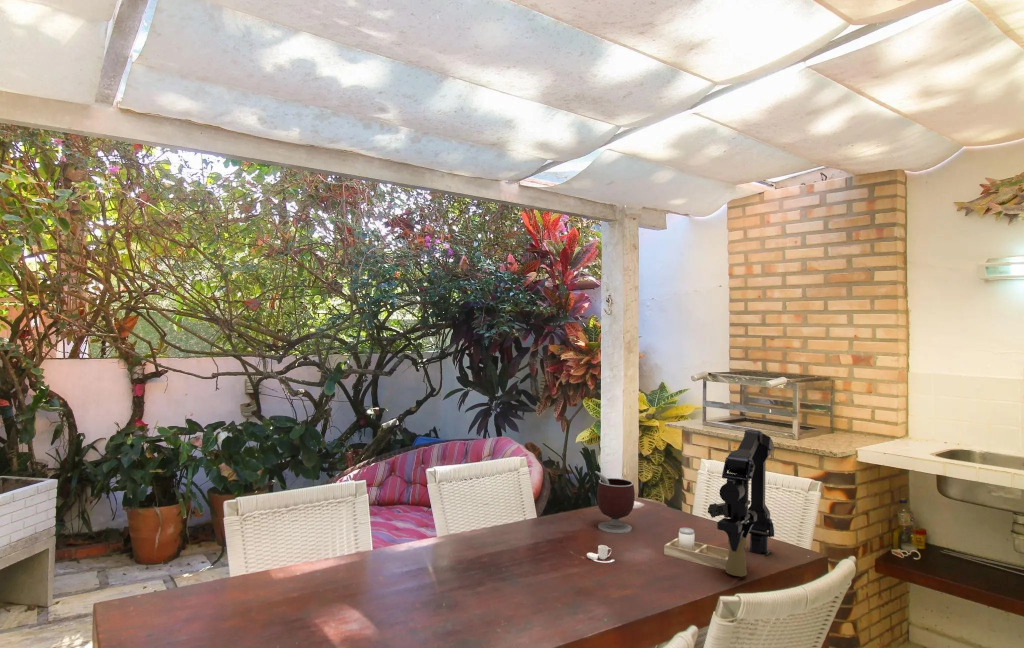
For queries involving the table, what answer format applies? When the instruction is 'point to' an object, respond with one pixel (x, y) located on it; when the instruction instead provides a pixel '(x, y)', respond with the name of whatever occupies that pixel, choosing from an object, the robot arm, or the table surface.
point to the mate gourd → (615, 502)
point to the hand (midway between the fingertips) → (736, 548)
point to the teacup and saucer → (600, 554)
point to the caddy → (699, 554)
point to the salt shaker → (686, 539)
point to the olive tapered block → (737, 560)
